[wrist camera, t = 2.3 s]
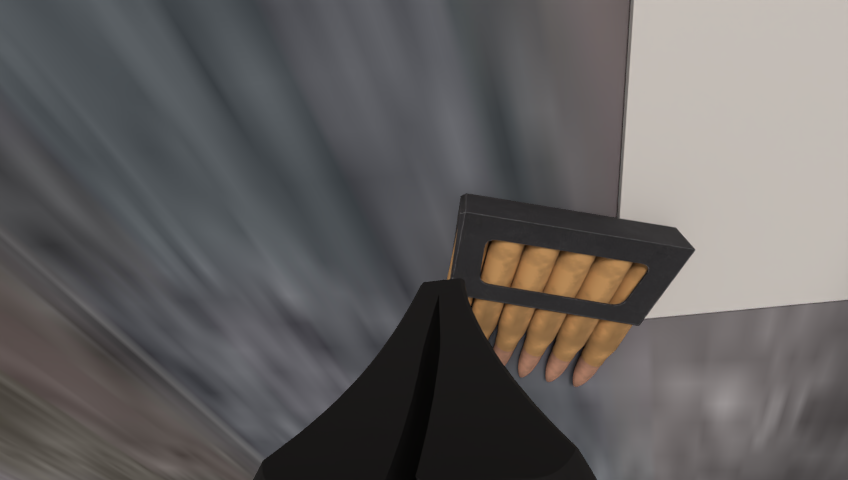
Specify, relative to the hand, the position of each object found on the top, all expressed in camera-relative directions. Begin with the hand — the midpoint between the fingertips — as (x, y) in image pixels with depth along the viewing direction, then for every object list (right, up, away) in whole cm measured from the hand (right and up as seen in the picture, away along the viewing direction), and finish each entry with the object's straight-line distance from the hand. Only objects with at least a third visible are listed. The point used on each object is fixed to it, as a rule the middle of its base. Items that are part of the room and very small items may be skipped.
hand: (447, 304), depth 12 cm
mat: (+15, +6, +4) cm, 16 cm away
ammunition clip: (+6, +3, +5) cm, 9 cm away
